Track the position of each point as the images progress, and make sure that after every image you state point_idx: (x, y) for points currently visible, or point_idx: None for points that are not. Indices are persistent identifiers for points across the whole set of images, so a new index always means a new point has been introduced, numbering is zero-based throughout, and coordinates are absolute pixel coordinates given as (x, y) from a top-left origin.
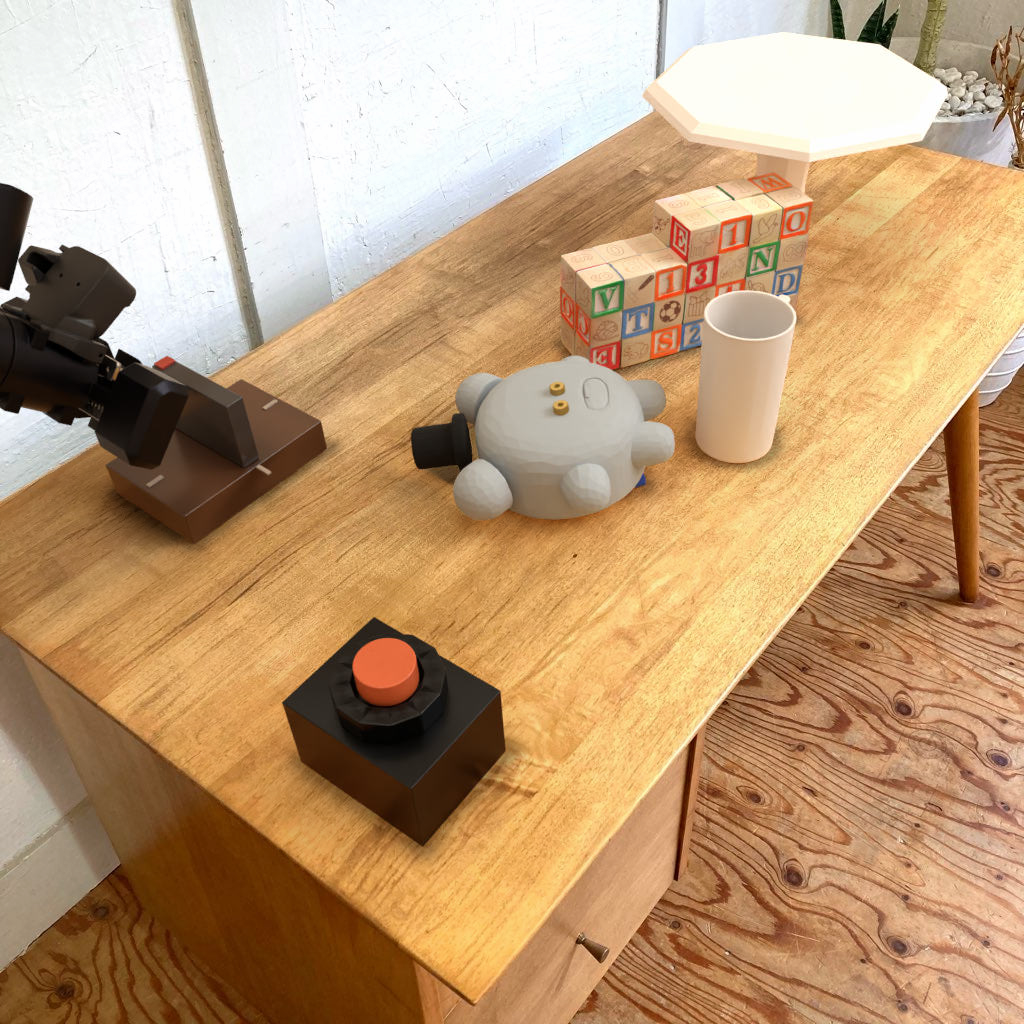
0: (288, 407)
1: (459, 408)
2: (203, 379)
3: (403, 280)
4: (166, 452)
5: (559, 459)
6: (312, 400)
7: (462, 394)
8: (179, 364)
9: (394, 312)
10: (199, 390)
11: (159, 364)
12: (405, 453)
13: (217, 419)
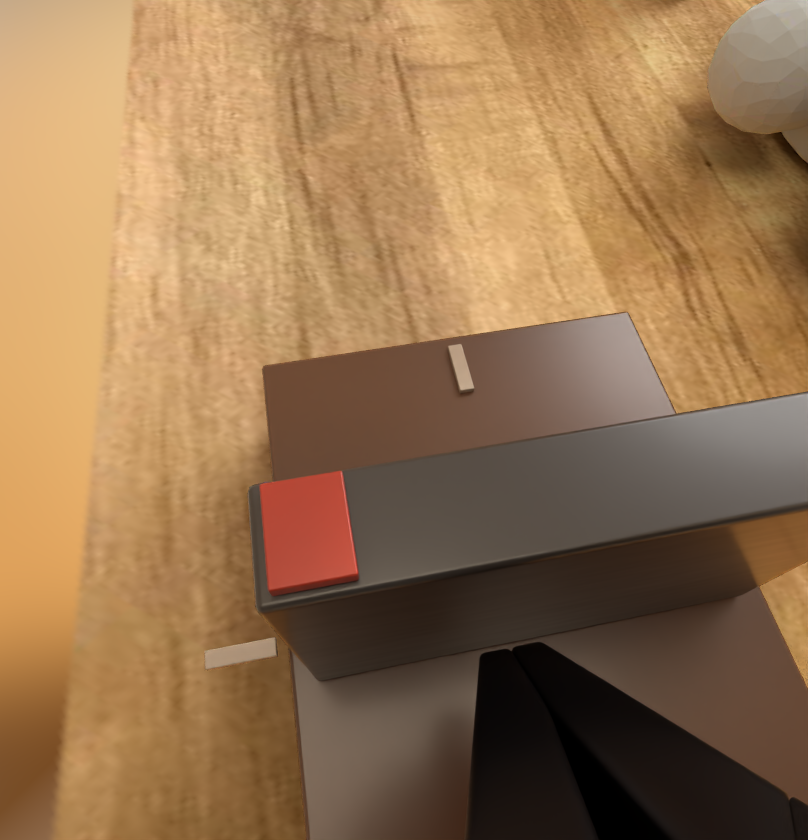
0: (507, 340)
1: (786, 101)
2: (628, 443)
3: (170, 17)
4: (460, 793)
5: None
6: (388, 305)
7: (804, 58)
8: (384, 472)
9: (247, 69)
10: (728, 509)
11: (314, 566)
12: (716, 269)
13: (769, 549)
